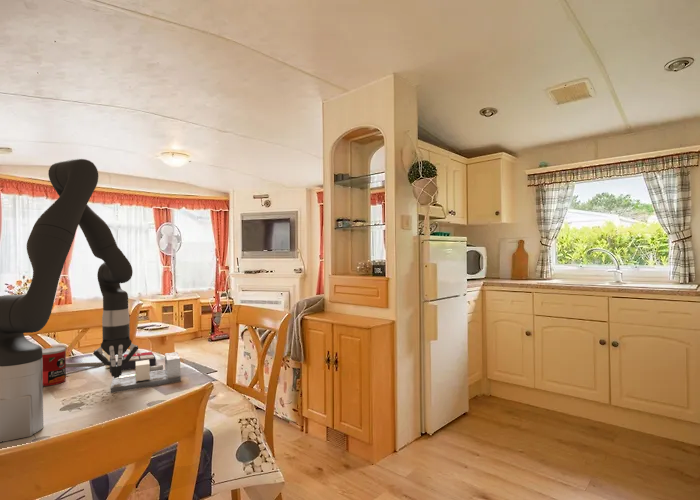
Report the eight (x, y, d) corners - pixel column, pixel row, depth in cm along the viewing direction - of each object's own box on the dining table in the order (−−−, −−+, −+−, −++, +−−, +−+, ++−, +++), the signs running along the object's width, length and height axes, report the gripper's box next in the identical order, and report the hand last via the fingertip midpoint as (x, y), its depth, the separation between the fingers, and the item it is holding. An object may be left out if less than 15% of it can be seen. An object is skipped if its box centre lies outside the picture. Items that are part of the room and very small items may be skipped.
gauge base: (180, 381, 131) (180, 359, 131) (110, 392, 121) (110, 368, 121) (177, 372, 142) (177, 351, 142) (112, 382, 132) (112, 359, 132)
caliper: (40, 378, 138) (40, 360, 138) (40, 378, 139) (39, 360, 139) (106, 365, 153) (106, 349, 153) (105, 364, 154) (105, 348, 154)
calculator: (156, 356, 151) (110, 361, 143) (155, 368, 151) (110, 373, 143) (153, 350, 160) (109, 354, 152) (152, 361, 160) (109, 366, 152)
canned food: (51, 386, 128) (50, 353, 128) (31, 385, 130) (30, 352, 130) (72, 379, 136) (71, 347, 136) (52, 378, 137) (52, 346, 137)
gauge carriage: (163, 377, 130) (163, 362, 130) (135, 381, 126) (135, 365, 126) (161, 369, 139) (161, 355, 139) (135, 373, 135) (135, 358, 135)
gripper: (90, 327, 120) (91, 384, 120) (139, 322, 126) (140, 376, 126) (92, 323, 127) (93, 377, 127) (139, 319, 133) (140, 371, 133)
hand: (116, 377), depth 126 cm, fingers closed
